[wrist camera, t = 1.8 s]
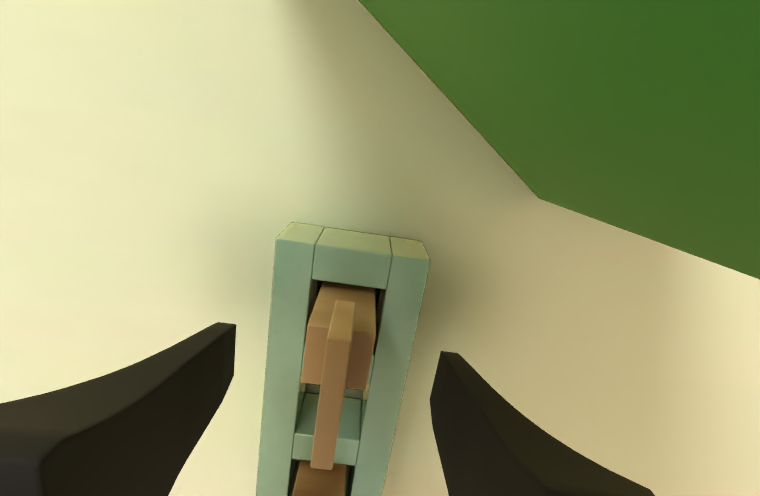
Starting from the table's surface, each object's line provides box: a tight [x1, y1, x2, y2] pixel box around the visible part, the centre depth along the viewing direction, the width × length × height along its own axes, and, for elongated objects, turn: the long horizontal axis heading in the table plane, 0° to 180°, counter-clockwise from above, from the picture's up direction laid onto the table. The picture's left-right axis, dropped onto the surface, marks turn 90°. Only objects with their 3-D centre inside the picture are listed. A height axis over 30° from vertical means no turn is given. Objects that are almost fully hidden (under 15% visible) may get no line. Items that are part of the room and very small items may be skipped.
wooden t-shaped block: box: [301, 281, 376, 470], centre depth 15 cm, size 2×5×8 cm, turn 171°
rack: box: [256, 222, 430, 496], centre depth 19 cm, size 6×16×3 cm, turn 171°
